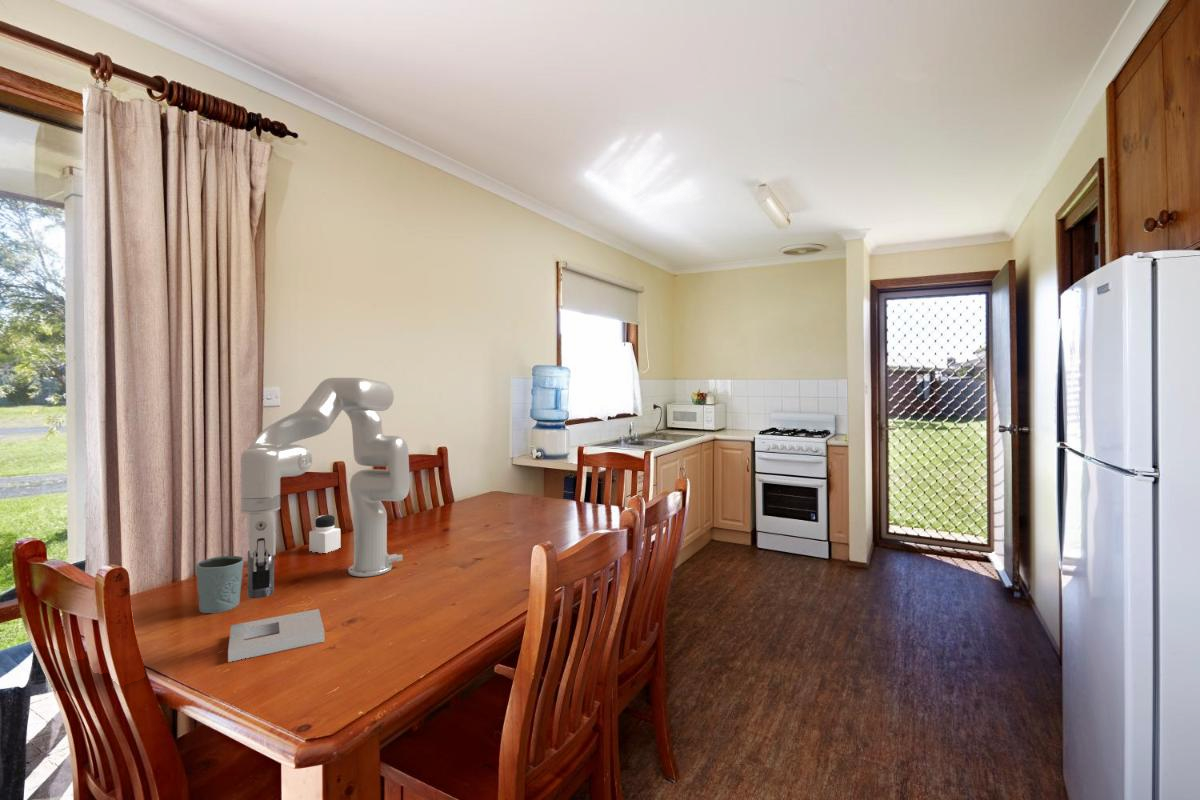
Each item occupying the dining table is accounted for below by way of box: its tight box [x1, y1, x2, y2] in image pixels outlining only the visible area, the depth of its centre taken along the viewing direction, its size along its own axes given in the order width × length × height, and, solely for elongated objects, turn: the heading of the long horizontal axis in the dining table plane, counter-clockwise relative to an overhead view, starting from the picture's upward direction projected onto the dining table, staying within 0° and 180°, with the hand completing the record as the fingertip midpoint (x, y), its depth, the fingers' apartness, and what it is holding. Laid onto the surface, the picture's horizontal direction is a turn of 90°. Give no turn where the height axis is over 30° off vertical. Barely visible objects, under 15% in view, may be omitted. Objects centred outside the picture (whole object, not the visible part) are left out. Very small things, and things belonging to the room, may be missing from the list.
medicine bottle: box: [308, 514, 342, 554], centre depth 190 cm, size 7×7×12 cm
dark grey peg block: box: [247, 550, 275, 599], centre depth 122 cm, size 5×5×10 cm
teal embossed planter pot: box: [195, 555, 245, 614], centre depth 141 cm, size 10×10×12 cm
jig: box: [227, 608, 325, 663], centre depth 124 cm, size 18×14×2 cm
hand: (261, 583), depth 122 cm, fingers closed on dark grey peg block, 5 cm apart
